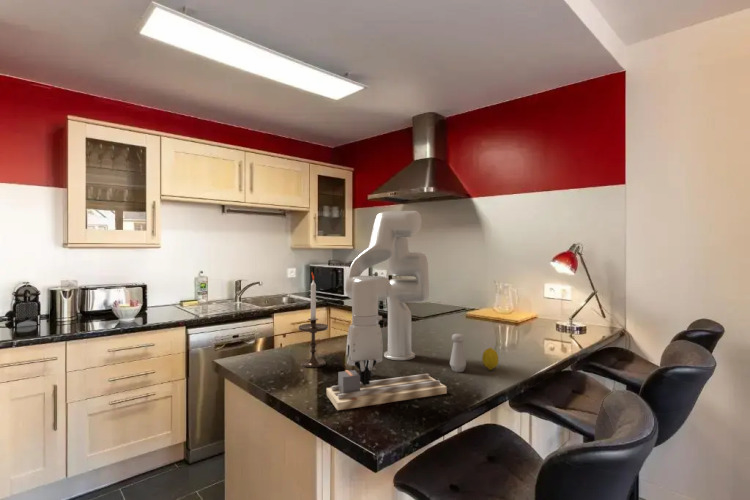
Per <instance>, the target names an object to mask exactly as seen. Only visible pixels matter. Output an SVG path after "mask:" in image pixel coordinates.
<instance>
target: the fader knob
mask: <svg viewBox="0 0 750 500" xmlns="http://www.w3.org/2000/svg"><path fill="white" fill-rule="evenodd" d="M337 375H338V377H337V385H338V390H339V391H340V392H341V393H350V392H357V391H360V382H361V381H360V375H359V373H358V372H357V370H356V369H353V370H352V369H351V370H349V369H345V370H344V371H338V374H337Z"/></svg>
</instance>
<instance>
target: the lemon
mask: <svg viewBox="0 0 750 500" xmlns="http://www.w3.org/2000/svg"><path fill="white" fill-rule="evenodd" d="M498 354H499V353H497V351H496V350H495V349H493V348H492V347H489V348H487V349H485V350H484V352H483V353H482V357H481V359H482V364H483V366H484V368H485V367H486V368H487V369H488V370H489V371H491V370H493V369H494V368H496V367H497V366H498V365H499V355H498Z"/></svg>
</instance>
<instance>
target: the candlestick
mask: <svg viewBox="0 0 750 500" xmlns="http://www.w3.org/2000/svg"><path fill="white" fill-rule="evenodd" d="M311 278H312V282H311V283H310V318H308V319H307V320H308V321H310V323H305V324H300V325H299V326H298V331H300V332H306V333H309V334H311V339H310V340H311V342H310V343H309V346H310V350H309V352H310V354H311V357H310V358H308V359H304V360H302V361H301V362H300V366H303V368H306V369H307V368H308V369H315V368H321V367H324V366H325V365H326V360H325V359H324V358H323V359H322V358H317V357H316V353H317V350H316V348H317V345H318V343H317V342H316V333H318V332H323V331H327V330H328V329H329V328H328V327H329V326H328V324H325V323H317V320H319V318H317V316H316V315H317V314H316V313H317V311H316V309H317V305H316V303H317V285H316V283H315V275H314V273H313V272H311Z"/></svg>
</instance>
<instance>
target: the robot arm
mask: <svg viewBox="0 0 750 500" xmlns="http://www.w3.org/2000/svg"><path fill="white" fill-rule="evenodd" d="M422 222H423V221H422V216H421V214H420V212H419V211H417V210H387V211H381V212H378V214H376V216H375V219H374V222H373V226H372V230H371V235H370V238H369V243H368V247H367V248H366V249H364V250H363V251H362V252H361V253H360V254H359V255H357V256H356V257H355V259H354V260H353V261H352V262H351V264H350V266H349V268H348V272H347V277H346V280H345V287H344V288H345V293H346V296H347V297H348V298H350V299H351V303H352V304H351V306H352V308H351V315H352V316H351V317H352V319H351V323H352V324H349V325H348V331H347V339H346V352H345V354H346V357H347V360H346V364H347V365H348V366H355V367H356V368H357V370H358V369H359V370H358V371H359V373H358V374H359V375H360V382H361V383H362V384H363V385H366V384H367V385H368V384H369V381H372V379H371V372H372V371H373V368H374V366H375V365H376V364H378V363H382V362H383V360H384V358H385V359H388V360H392V361H410V360H412V359H414V358H416V353H415V352H413V351H412V311H411V309H410V308H409V307H408V305H407V304H406V303H415V304H416V303H419V304H420V303H421V304H422V303H423V304H424V303H426V302H427V301H428V299H429V297H430V296H429V295H430V287H429V286H430V281H429V280H430V279H429V276H430V275H429V262H428V257H427V256H426V255H425V253H423V252H418V251H417V252H416V251H415V252H412V251H411V252H410V251H409V239H408V238H411V237H414V236H416V235H417V234H418V233H419V232H420V230H421V228H422ZM385 261H387V267H388V268H387V269H388V272H389V273H390V275H391V276H396V277H397V278H391V279H389V278H387V277H385V276H383V275H382V276H379V275H362V274H363V273H364V271H366V270H367V269H370V268H371V267H373V266H375V265H378V264H380V263H383V262H385ZM398 277H402V278H398ZM403 277H413V278H403ZM385 300H386V302H387V304H386V305H387V351H384V347H383V345H384V344H383V335H382V330H381V325H380V323H379V322H380V321H382V320H383V316H382V315H380V314H379V301H380V302H381V301H385ZM383 356H384V358H383ZM365 360H366V364H364V361H365Z"/></svg>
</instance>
